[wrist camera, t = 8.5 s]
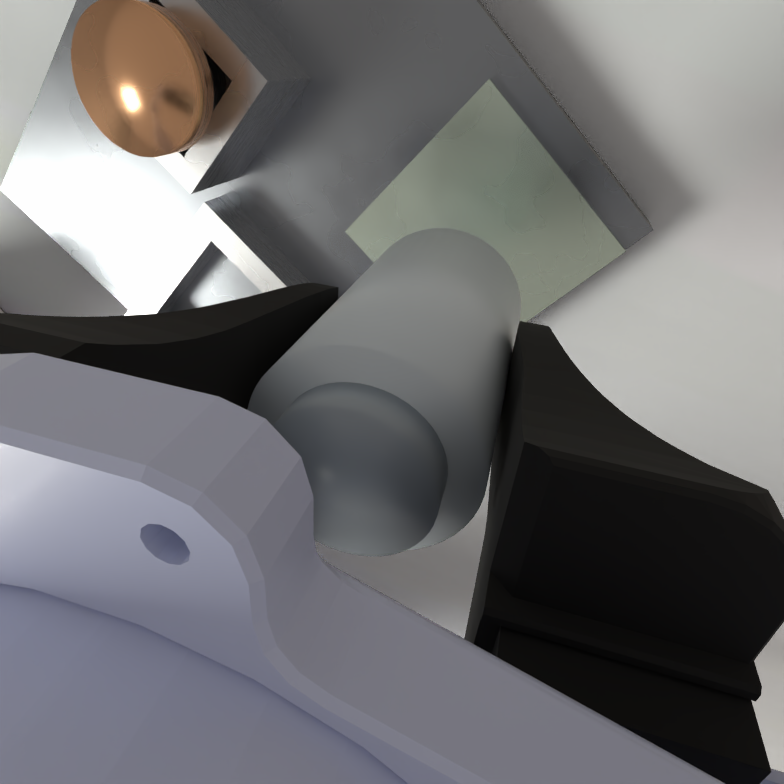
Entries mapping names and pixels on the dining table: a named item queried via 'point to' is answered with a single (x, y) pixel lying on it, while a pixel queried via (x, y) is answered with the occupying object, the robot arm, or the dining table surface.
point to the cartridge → (400, 394)
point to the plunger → (144, 77)
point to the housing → (326, 159)
